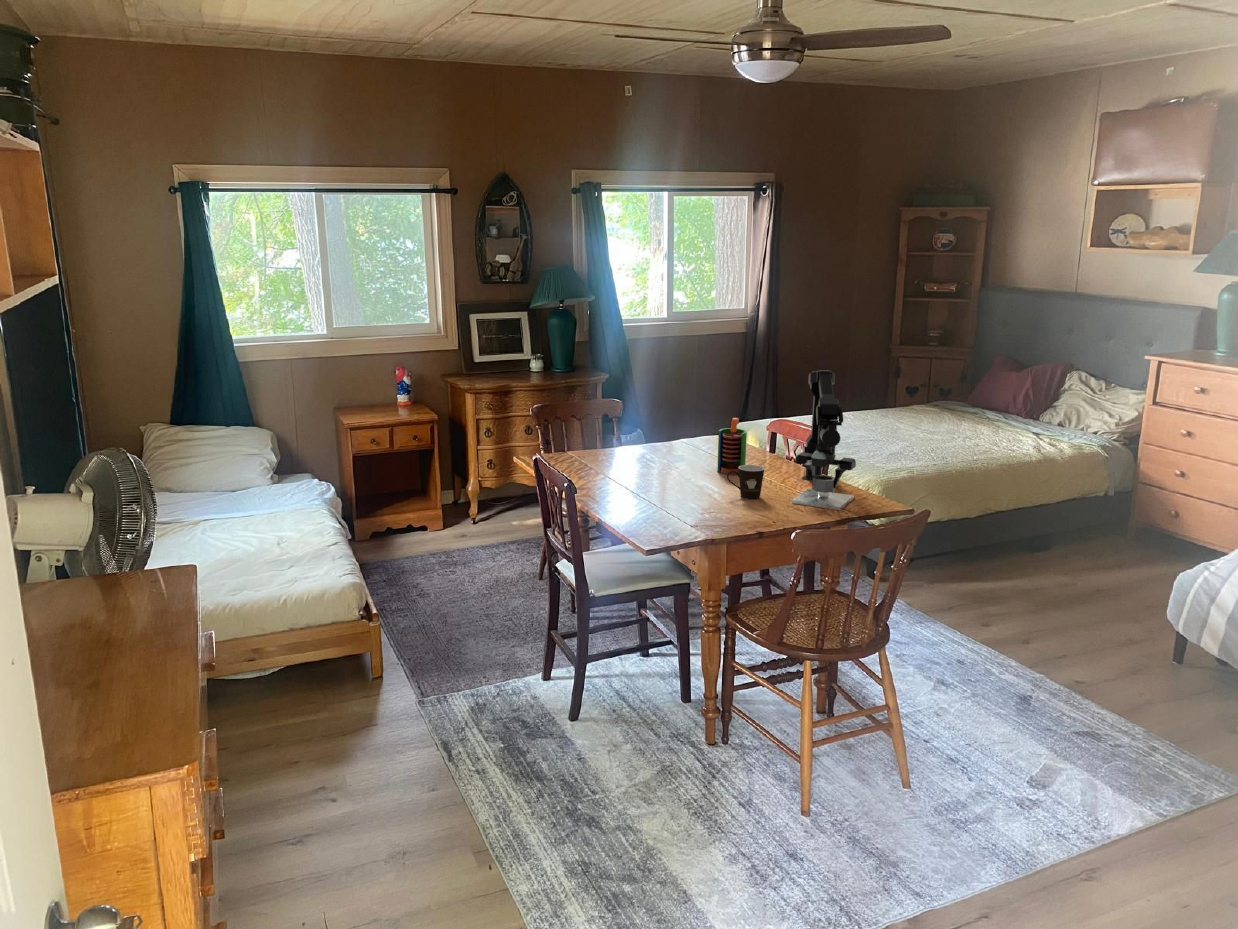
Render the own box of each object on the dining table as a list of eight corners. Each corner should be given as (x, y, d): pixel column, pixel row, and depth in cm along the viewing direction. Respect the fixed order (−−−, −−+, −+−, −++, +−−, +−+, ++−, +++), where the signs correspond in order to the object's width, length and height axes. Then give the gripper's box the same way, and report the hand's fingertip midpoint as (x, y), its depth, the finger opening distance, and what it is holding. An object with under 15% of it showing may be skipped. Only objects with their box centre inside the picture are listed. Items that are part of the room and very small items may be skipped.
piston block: (807, 491, 322) (808, 477, 321) (853, 498, 314) (854, 483, 313) (791, 503, 308) (792, 488, 307) (839, 510, 301) (840, 495, 300)
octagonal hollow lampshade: (816, 485, 315) (817, 474, 314) (837, 488, 312) (837, 476, 311) (809, 490, 309) (810, 478, 308) (830, 493, 306) (831, 481, 305)
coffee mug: (767, 495, 317) (768, 467, 314) (757, 501, 310) (758, 472, 307) (735, 490, 322) (736, 462, 320) (724, 496, 315) (726, 467, 313)
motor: (716, 474, 345) (717, 420, 340) (719, 468, 353) (721, 416, 348) (743, 476, 342) (746, 422, 338) (746, 470, 351) (748, 417, 346)
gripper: (791, 441, 304) (788, 488, 308) (848, 448, 295) (844, 496, 299) (802, 435, 314) (799, 480, 317) (857, 441, 305) (854, 488, 309)
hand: (823, 486), depth 310 cm, fingers closed on octagonal hollow lampshade, 7 cm apart
